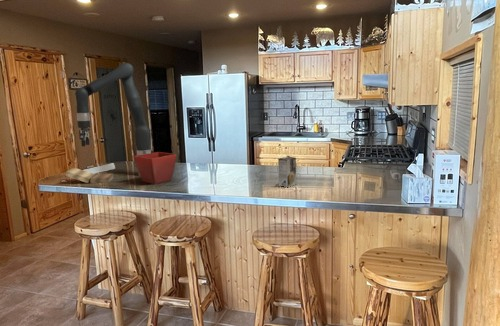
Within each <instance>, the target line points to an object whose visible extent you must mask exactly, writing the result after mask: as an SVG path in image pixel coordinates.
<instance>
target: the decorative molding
mask: <svg viewBox="0 0 500 326" xmlns="http://www.w3.org/2000/svg"><path fill="white" fill-rule="evenodd" d="M115 169H116V166H115V163H114V162H112V163H107V164H103V165H98V166H95V167H91V168H85V169H82V170H83V171H86V172H90V173H93V174H95V175H96V174H100V173H103V172H106V171H110V170H115ZM99 172H100V173H99Z"/></svg>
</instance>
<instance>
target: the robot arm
mask: <svg viewBox="0 0 500 326" xmlns="http://www.w3.org/2000/svg"><path fill="white" fill-rule="evenodd" d="M134 70H135V69H134V67H133V65H132V64H130V63H128V62H122V63H121V64H119V66H117V67H116V68H114V69H113V70H112V71H110V72H108V73H106V74H105V75H103V76H100V77H98V78H95V79H94V80H91V82H89V83H87V84H86V85H84V86H81V87H79V88H77V89H76V90H75V92H74V96H75V99H76V124H77V128H78V129H79V130H78V134H79V135H78V136H79V140H80V142H81V147H86V146H90V144H91V143H90V139H91V132H90V130H91V129H90V128H91V126H92V125H91V116H90V108H89V97H91V96H92V95H94V94H96V93H98V92H100V91H102V90H103V89H105V88H107V87H109V86H110V85H112V84H113V83H115V82H117V81H119V80H120V81H121V83H122V87H123V91H124V96H125V101H126V105H127V107H128V111H129V114H130V115H131V118H132V120H133V123H134V126H135V131H134V139H135V147H136V155H142V154H149V153H152V152H151V139H150V138H151V137H150V133H151V132H150V128H149V126H148V125H147V121H146V118H145V113H144V108H143V107H144V106H143V103H142V100H141V97H140V94H139V92H138V90H137V87H136V85H135V82H134V76H133V74H134ZM137 173H138V176H140V174H139V172H138V171H137Z"/></svg>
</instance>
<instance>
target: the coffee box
mask: <svg viewBox="0 0 500 326" xmlns="http://www.w3.org/2000/svg"><path fill="white" fill-rule="evenodd" d="M296 159H297V158H296V156H295V157H294V156H283V157H280V158H278V162H277V163H278V187H280V186H284V187H283V188H286V187H288V188H290V187H289V186H291V187H293V186H292V185H294V186H296V185H297V162H296V161H297V160H296ZM295 184H296V185H295Z"/></svg>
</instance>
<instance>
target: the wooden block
mask: <svg viewBox="0 0 500 326" xmlns="http://www.w3.org/2000/svg"><path fill="white" fill-rule="evenodd" d="M113 179H114V173H102V174H101V173H95V175H94V176H93V177H92V178H90V182H89V183H90V184H105V183H110V182H112V180H113Z"/></svg>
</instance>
